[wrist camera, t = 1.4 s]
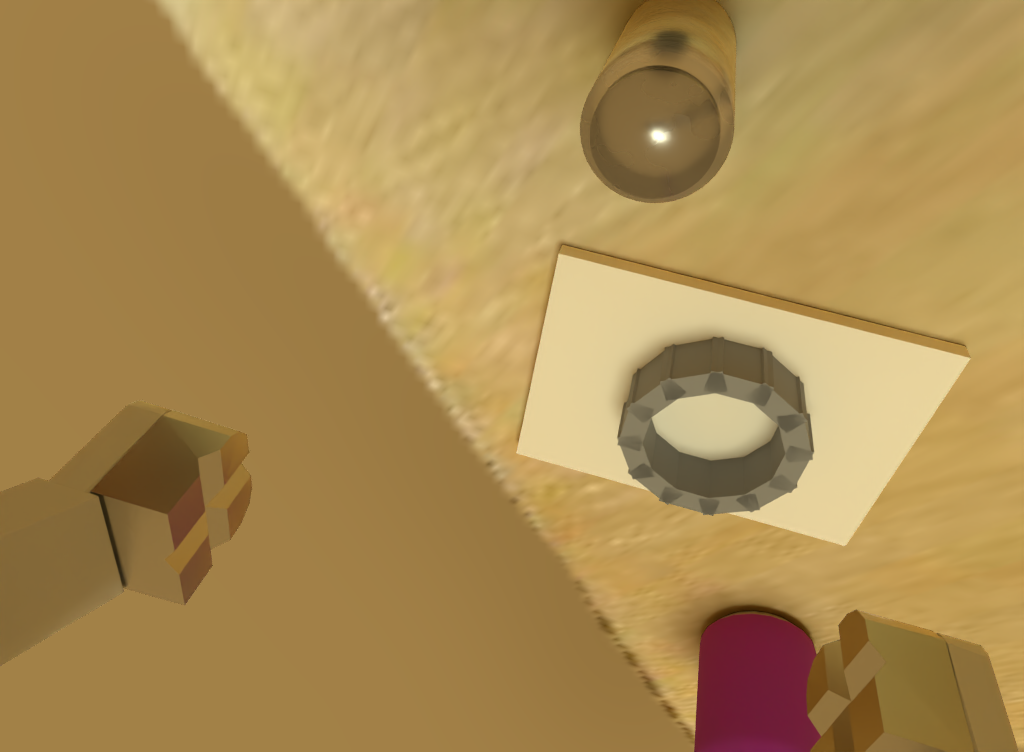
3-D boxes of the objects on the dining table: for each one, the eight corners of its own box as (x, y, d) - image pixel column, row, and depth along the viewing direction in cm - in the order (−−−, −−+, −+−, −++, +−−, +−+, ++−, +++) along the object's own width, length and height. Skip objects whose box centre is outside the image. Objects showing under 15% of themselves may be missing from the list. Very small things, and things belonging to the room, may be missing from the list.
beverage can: (727, 678, 56) (724, 852, 47) (681, 614, 53) (668, 786, 44) (833, 665, 52) (852, 851, 43) (790, 594, 49) (801, 778, 40)
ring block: (965, 346, 36) (986, 396, 33) (843, 533, 45) (851, 587, 42) (562, 244, 38) (546, 283, 35) (520, 442, 47) (504, 487, 44)
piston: (753, 2, 30) (757, 76, 22) (715, 121, 33) (706, 225, 25) (634, -23, 30) (595, 40, 22) (607, 96, 33) (564, 190, 25)
